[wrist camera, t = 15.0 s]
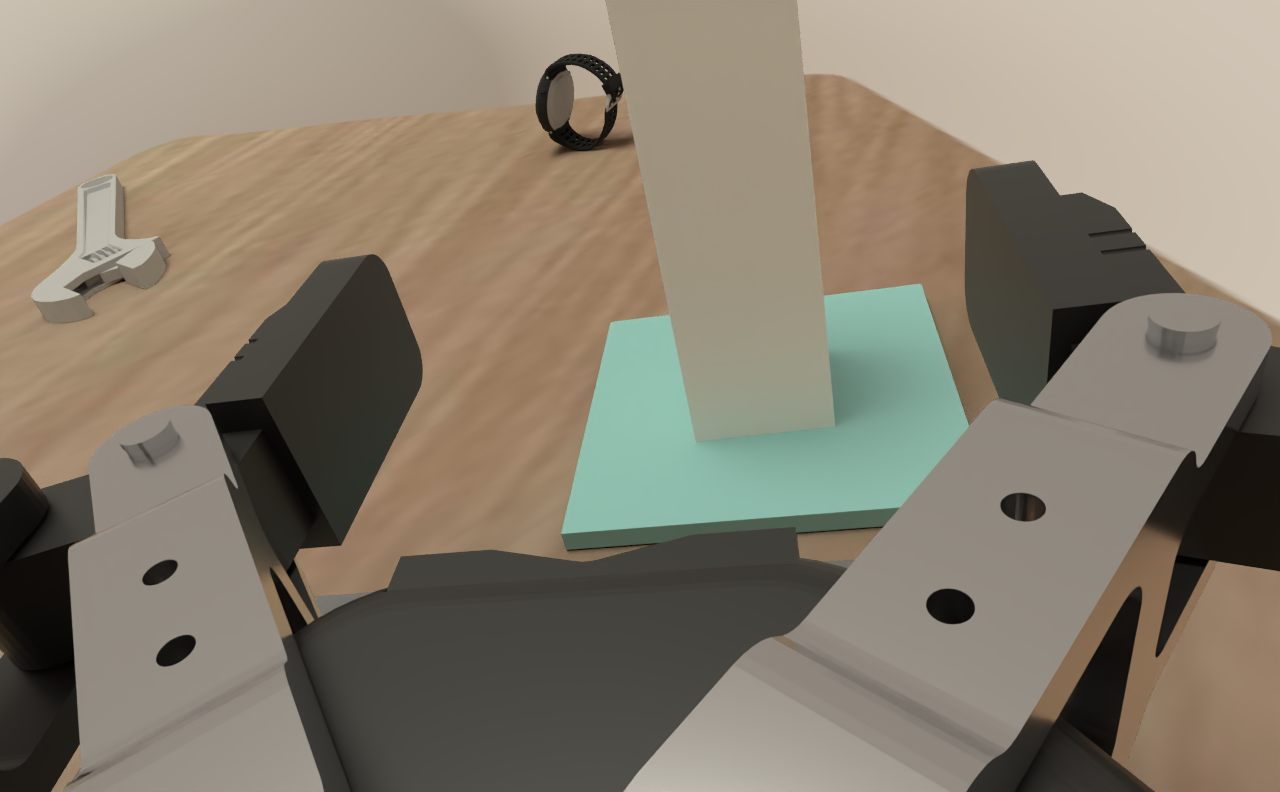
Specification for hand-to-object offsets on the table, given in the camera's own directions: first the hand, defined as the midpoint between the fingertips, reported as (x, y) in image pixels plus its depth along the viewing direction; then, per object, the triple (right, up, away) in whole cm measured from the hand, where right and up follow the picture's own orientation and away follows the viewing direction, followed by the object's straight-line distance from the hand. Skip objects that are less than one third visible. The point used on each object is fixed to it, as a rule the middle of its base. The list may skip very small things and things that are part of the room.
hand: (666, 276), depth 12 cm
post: (+3, -2, +15) cm, 15 cm away
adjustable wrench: (-33, +8, +43) cm, 55 cm away
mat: (+4, -2, +15) cm, 16 cm away
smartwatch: (-3, +12, +39) cm, 41 cm away
